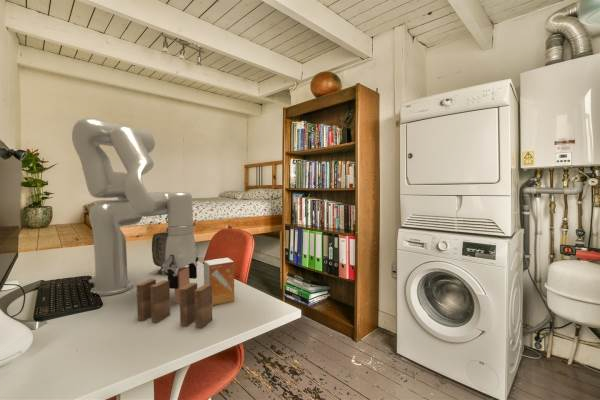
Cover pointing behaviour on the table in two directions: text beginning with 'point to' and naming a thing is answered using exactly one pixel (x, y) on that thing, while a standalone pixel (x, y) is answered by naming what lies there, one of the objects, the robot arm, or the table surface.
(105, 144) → the robot arm
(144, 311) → the domino
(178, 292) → the domino
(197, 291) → the domino
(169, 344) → the table surface
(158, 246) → the tabletop clock
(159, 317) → the domino
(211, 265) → the small box
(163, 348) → the table surface
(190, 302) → the domino
